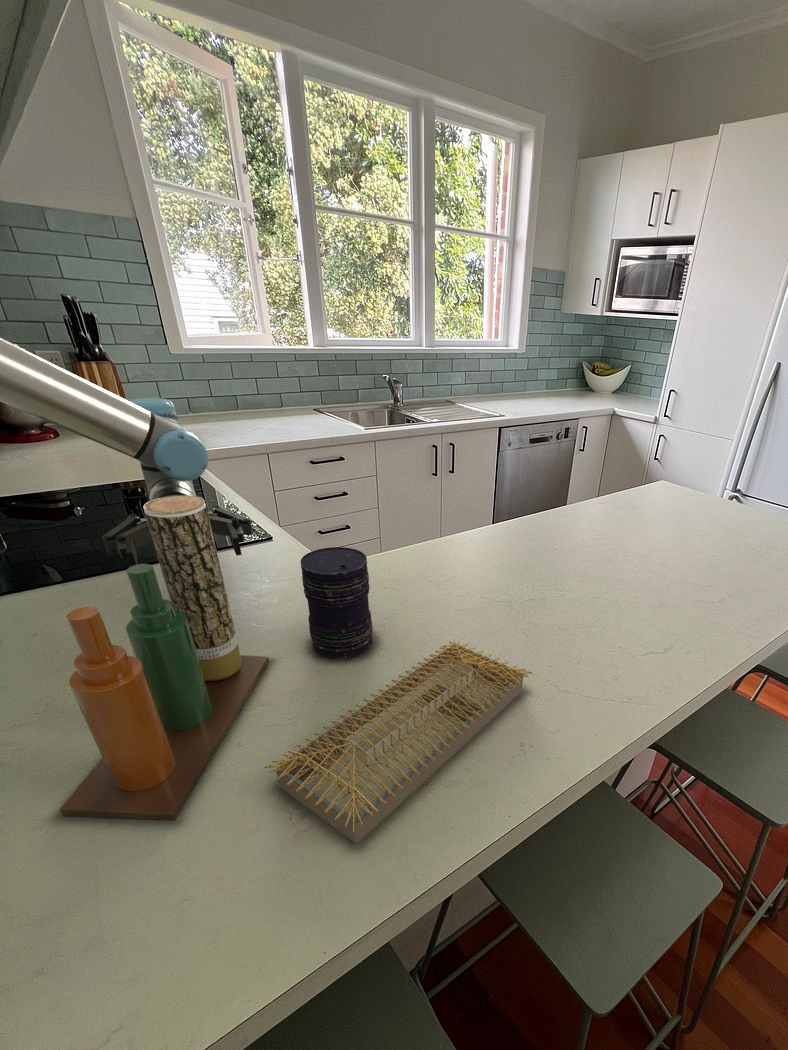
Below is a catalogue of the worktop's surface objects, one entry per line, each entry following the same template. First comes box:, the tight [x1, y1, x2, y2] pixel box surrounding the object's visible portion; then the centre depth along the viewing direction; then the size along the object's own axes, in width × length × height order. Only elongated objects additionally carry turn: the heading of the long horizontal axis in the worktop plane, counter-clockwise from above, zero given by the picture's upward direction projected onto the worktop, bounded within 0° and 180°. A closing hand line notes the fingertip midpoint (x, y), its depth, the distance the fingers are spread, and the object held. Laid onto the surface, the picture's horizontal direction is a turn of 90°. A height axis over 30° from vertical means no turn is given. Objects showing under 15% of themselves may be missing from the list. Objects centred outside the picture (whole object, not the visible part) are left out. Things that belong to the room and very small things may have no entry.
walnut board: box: [59, 654, 270, 821], centre depth 71 cm, size 12×30×1 cm, turn 179°
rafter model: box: [263, 638, 533, 844], centre depth 70 cm, size 35×14×6 cm, turn 145°
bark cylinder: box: [142, 495, 242, 681], centre depth 73 cm, size 7×7×25 cm
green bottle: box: [125, 563, 213, 730], centre depth 66 cm, size 6×6×21 cm
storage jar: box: [300, 546, 374, 661], centre depth 85 cm, size 10×10×15 cm
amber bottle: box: [65, 606, 176, 791], centre depth 57 cm, size 6×6×21 cm
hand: (186, 554), depth 77 cm, fingers open, 13 cm apart
